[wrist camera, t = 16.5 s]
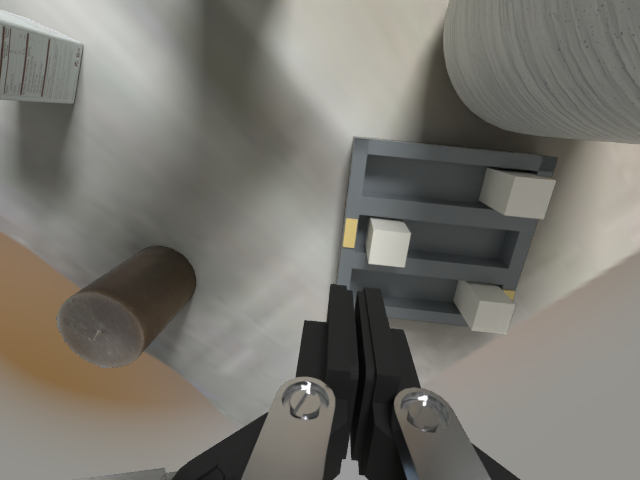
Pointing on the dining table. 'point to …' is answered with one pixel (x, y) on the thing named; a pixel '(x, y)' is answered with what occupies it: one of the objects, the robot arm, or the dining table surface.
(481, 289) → the tab
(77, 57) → the supplement box
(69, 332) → the pillar candle
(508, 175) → the tab
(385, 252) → the tab middle
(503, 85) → the vase
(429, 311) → the switch bank
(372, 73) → the dining table surface
